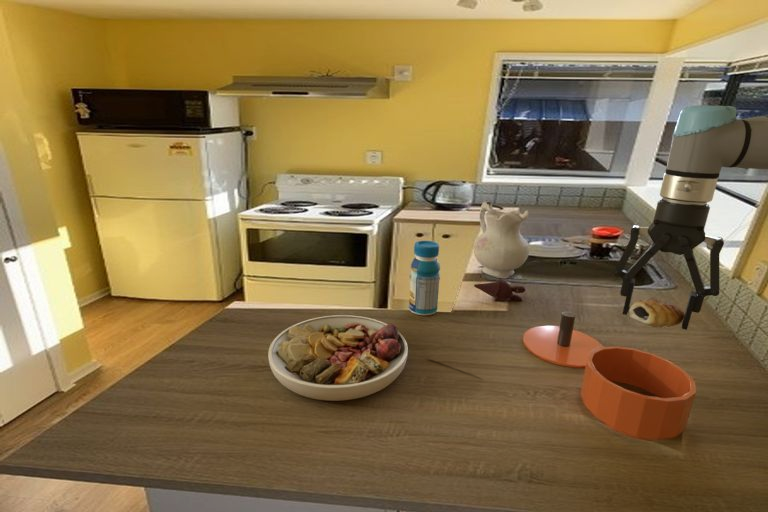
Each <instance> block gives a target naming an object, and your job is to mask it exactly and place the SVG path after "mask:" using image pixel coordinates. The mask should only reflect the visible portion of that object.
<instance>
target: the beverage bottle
mask: <svg viewBox="0 0 768 512" xmlns="http://www.w3.org/2000/svg"><path fill="white" fill-rule="evenodd" d="M439 253H440V244H439V243H438V242H436V241H433V240H432V241H431V240H418V241H416V242H415V243H414V247H413V254H414V256H415V257H414V258H413V260H412V261H411V264H410V269H411V271H410V273H409V301H408V310H409V311H410V312H411V313H412V314H414V315H416V316H417V315H418V316H432V315H434V314H436V313H437V311H438V304H439V303H438V302H439V289H440V280H441V274H440V271H441V265H440V261H439V260H438V258H437V257H439Z"/></svg>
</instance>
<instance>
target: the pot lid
mask: <svg viewBox="0 0 768 512" xmlns="http://www.w3.org/2000/svg"><path fill="white" fill-rule="evenodd" d="M576 316H577V315H576V314H575V313H574V312H572V311H563V312H561V317H560V323H559V326H557V325H540V326H534V327H531V328H529V329H527V330H526V331H525V332H524V334H523V337H522V342H523V345H524V346H525V348H526V349H527V350H528V351H529V352H530V353H532V354H533V355H534V356H536V357H538V358H539V359H541V360H544V361H546V362H549V363H552V364H555V365H558V366H562V367H568V368H574V369H575V368H576V369H585V367H586V362H587V359H588V356H589V354H590V352H592V351H594V350H596V349H598V348H600V347H604V345H603V344H601V342H599V341H598V340H597V339H595V338H594V337H592V336H591V335H588V334H586V333H584V332H581V331H579V330H576V329H574V327H575V321H576Z"/></svg>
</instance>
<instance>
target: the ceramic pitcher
mask: <svg viewBox="0 0 768 512" xmlns="http://www.w3.org/2000/svg"><path fill="white" fill-rule="evenodd" d="M492 203H493V201H492V200H487V199H484V200H483V201H482V204H481V206H480V210H479V223H480V228H481V231H482V233H481V234H480V235H478V236H477V237H475V239H474V242H473V254H474V257H475V259H476V261H477V262H478V263H479V264H480V265H481V266H483V267H482V268H481V270H480V271H481V273H483V274H486V275H489V276H491V277H493V278H497V279H508V278H510V277H511V276H513V275H515V270H517V269H519V268H520V267H522V266H523V265H524V264H525V262H526V261H527V260H528V258H529V255H530V250H531V249H530V248H531V247H530V243H529V242H528V241H527V239H525V238H524V237H523V236H522V234H521V227H522V224H523V223H524V222H525V221H526V220H527V219H528V217H529V210H525V211H524V213H521V212H520V211H519V210H518V211H517V210H511V211H506V212H504V211H500V210H495V209H494V208H493V204H492Z"/></svg>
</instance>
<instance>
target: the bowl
mask: <svg viewBox="0 0 768 512" xmlns="http://www.w3.org/2000/svg"><path fill="white" fill-rule="evenodd" d="M408 347H409V346H408V343H407V340H406V339H405V337H404V336H403V335H402V334H401V332H400V331H399V330H398V327H397V326H396V325H394V324H392V323H386V322H383V321H380V320H378V319H374V318H371V317H367V316H361V315H350V314H349V315H348V314H337V315H335V314H334V315H325V316H319V317H313V318H310V319H306V320H303V321H300V322H298V323H295V324H292V325H291V326H288V327H287V328H286V329H284V330H283V331H281V332H280V333H279V334H278V335H277V336H276V337H275V338H274V339H273V340H272V342H271V343H270V345H269V348H268V354H267V355H268V356H267V357H268V364H269V367H270V370H271V372H272V374H273V375H274V377H275V379H277V381H278V382H279V383H280V384H281V385H282V386H284V387H285V388H286V389H288V390H290V391H291V392H292V393H294V394H297V395H298V396H299V395H300V396H303V397H306V398H309V399H312V400H313V399H314V400H319V401H330V402H335V401H336V402H338V401H339V402H341V401H350V400H356V399H361V398H364V397H367V396H370V395H373V394H376V393H377V392H380V391H382V390H383V389H385V388H387V387H388V386H389V385H391V384H393V382H394V381H395V380H397V378H398V377H399V376H400V375H401V373H402V371H403V370H404V368H405V367H406V363H407V360H408V353H409V349H408Z"/></svg>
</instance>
